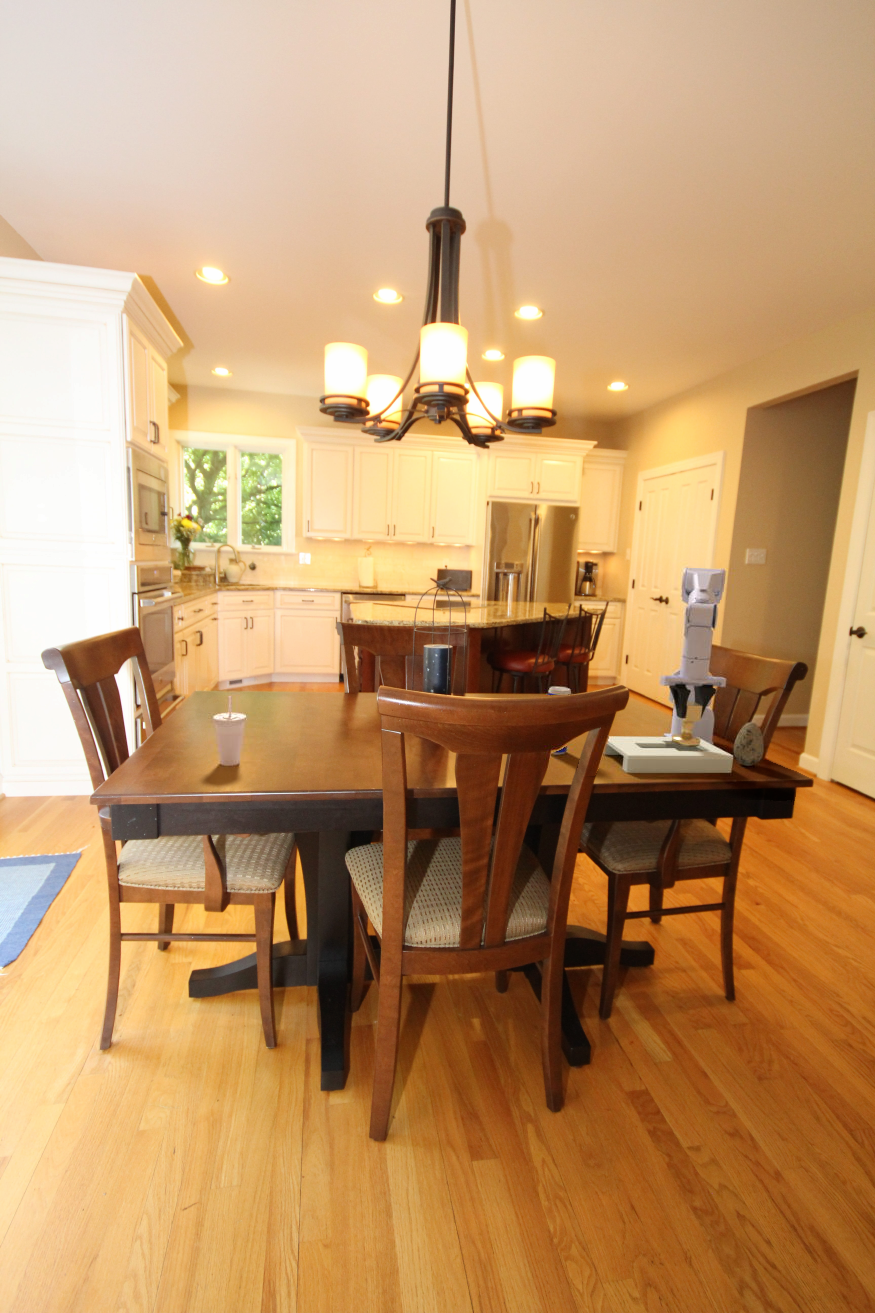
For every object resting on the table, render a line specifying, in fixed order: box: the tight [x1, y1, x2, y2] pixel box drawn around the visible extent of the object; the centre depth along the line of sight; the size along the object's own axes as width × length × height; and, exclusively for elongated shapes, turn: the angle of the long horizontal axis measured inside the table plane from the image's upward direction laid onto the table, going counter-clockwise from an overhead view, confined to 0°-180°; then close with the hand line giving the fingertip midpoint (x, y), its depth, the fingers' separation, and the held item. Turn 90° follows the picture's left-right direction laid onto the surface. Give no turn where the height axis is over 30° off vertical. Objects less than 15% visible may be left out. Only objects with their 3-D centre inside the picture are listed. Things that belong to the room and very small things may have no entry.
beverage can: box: [547, 686, 572, 756], centre depth 139 cm, size 5×5×15 cm
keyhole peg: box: [672, 702, 702, 747], centre depth 136 cm, size 6×6×9 cm
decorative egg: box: [733, 721, 765, 767], centre depth 137 cm, size 6×6×10 cm
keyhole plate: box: [604, 735, 734, 774], centre depth 136 cm, size 24×14×4 cm, turn 98°
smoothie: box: [212, 695, 247, 767], centre depth 122 cm, size 6×6×14 cm
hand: (689, 717), depth 136 cm, fingers closed on keyhole peg, 3 cm apart
